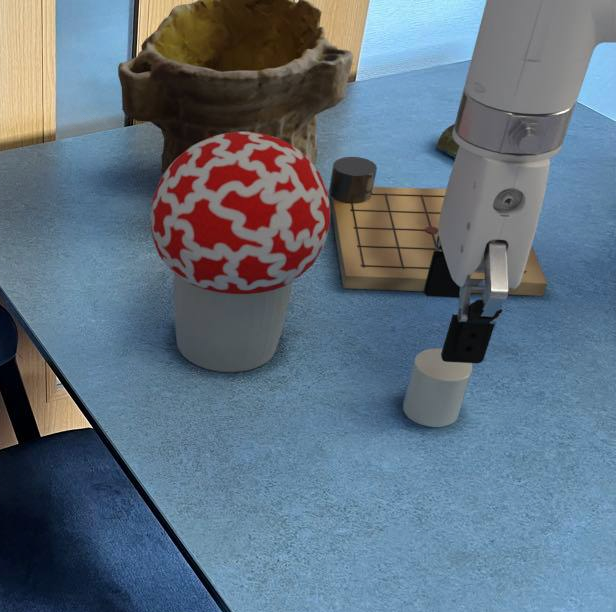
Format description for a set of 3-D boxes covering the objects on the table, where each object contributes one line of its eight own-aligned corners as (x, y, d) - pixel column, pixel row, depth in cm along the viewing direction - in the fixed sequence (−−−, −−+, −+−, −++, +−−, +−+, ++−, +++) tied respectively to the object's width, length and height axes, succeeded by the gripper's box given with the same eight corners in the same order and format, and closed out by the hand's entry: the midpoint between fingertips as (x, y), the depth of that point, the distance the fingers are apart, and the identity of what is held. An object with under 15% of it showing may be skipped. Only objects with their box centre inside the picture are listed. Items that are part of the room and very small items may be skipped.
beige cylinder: (453, 395, 93) (467, 349, 89) (462, 429, 90) (477, 382, 86) (399, 393, 93) (411, 346, 90) (406, 426, 90) (418, 379, 87)
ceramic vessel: (216, 217, 100) (143, -48, 96) (127, 267, 123) (66, 54, 119) (407, 165, 106) (345, -86, 103) (289, 222, 129) (235, 19, 126)
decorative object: (117, 324, 102) (120, 123, 88) (251, 286, 107) (274, 90, 93) (196, 410, 92) (214, 200, 78) (341, 365, 97) (382, 158, 82)
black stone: (369, 184, 119) (374, 157, 117) (373, 203, 116) (379, 176, 113) (327, 182, 119) (331, 156, 117) (330, 202, 116) (334, 175, 114)
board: (505, 202, 119) (509, 189, 117) (543, 296, 104) (548, 282, 103) (328, 197, 120) (331, 184, 119) (343, 288, 106) (345, 274, 105)
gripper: (597, 176, 67) (519, 391, 79) (539, 76, 79) (478, 275, 91) (479, 172, 67) (419, 386, 79) (439, 72, 80) (392, 271, 92)
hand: (451, 326), depth 85 cm, fingers open, 9 cm apart
